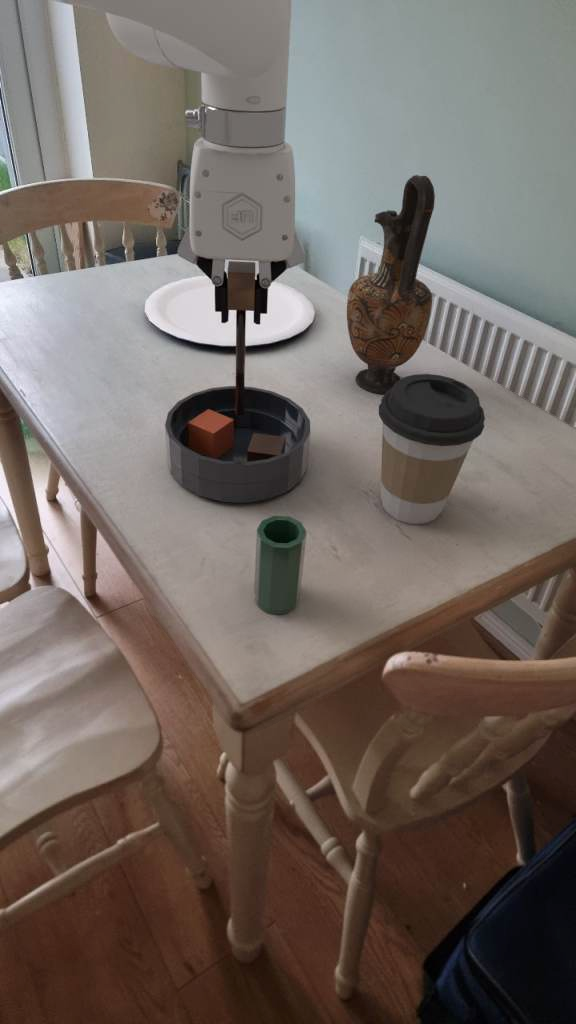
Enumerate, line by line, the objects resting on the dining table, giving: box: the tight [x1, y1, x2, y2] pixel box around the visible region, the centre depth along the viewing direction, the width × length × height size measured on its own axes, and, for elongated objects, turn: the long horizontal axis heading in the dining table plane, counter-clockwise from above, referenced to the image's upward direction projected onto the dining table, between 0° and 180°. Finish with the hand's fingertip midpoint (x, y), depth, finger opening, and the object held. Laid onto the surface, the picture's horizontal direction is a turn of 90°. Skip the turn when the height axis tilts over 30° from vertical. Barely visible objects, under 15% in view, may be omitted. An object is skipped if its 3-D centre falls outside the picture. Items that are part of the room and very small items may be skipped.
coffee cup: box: [378, 373, 486, 526], centre depth 77 cm, size 11×11×15 cm
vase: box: [346, 174, 436, 395], centre depth 95 cm, size 12×12×30 cm
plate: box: [144, 274, 316, 348], centre depth 119 cm, size 29×29×2 cm
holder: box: [253, 515, 307, 616], centre depth 67 cm, size 4×5×9 cm
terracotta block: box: [188, 409, 234, 459], centre depth 87 cm, size 4×4×4 cm
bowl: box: [164, 385, 311, 504], centre depth 85 cm, size 17×17×6 cm
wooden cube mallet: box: [227, 260, 256, 416], centre depth 77 cm, size 3×3×18 cm
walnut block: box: [247, 433, 286, 462], centre depth 84 cm, size 4×4×4 cm
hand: (241, 316), depth 75 cm, fingers closed on wooden cube mallet, 2 cm apart
